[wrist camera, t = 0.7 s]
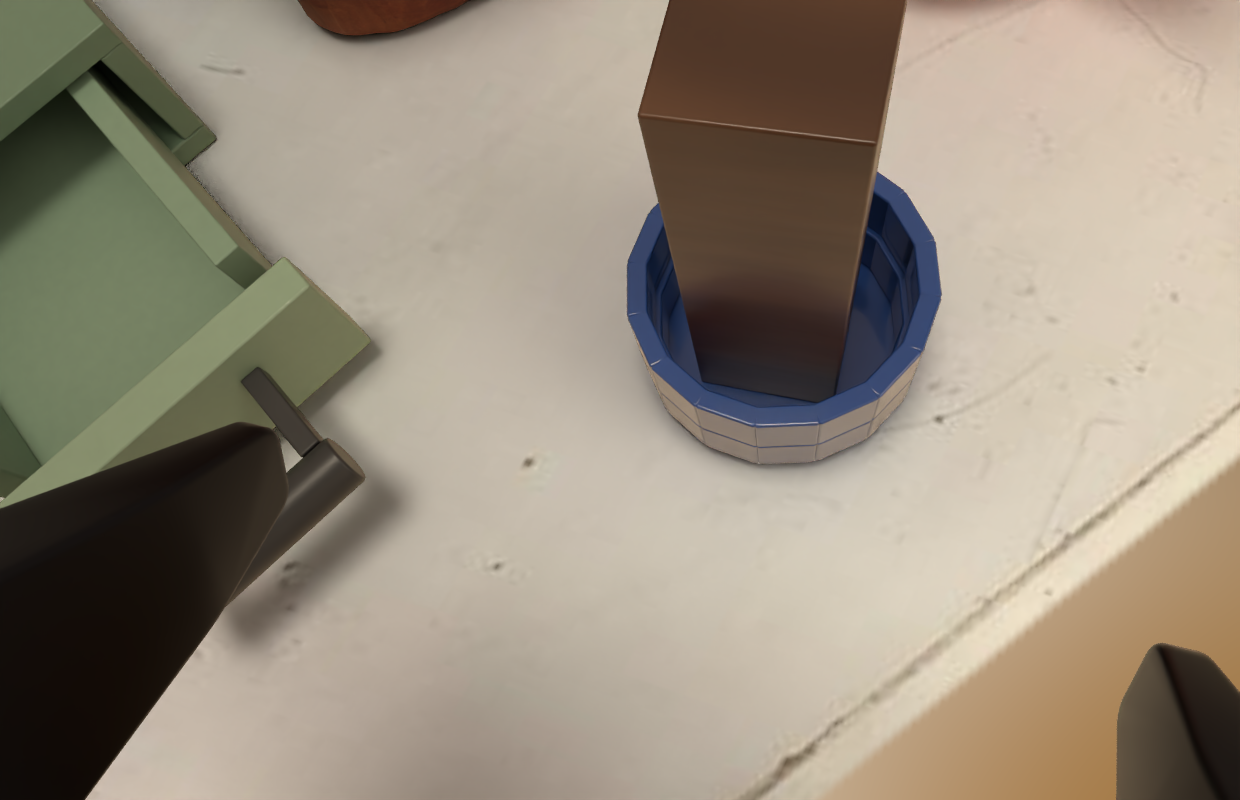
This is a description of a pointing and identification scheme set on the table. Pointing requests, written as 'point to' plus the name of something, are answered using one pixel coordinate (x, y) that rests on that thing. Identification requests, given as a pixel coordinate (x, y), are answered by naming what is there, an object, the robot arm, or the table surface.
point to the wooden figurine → (374, 14)
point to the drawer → (148, 315)
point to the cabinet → (84, 69)
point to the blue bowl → (873, 356)
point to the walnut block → (769, 176)
